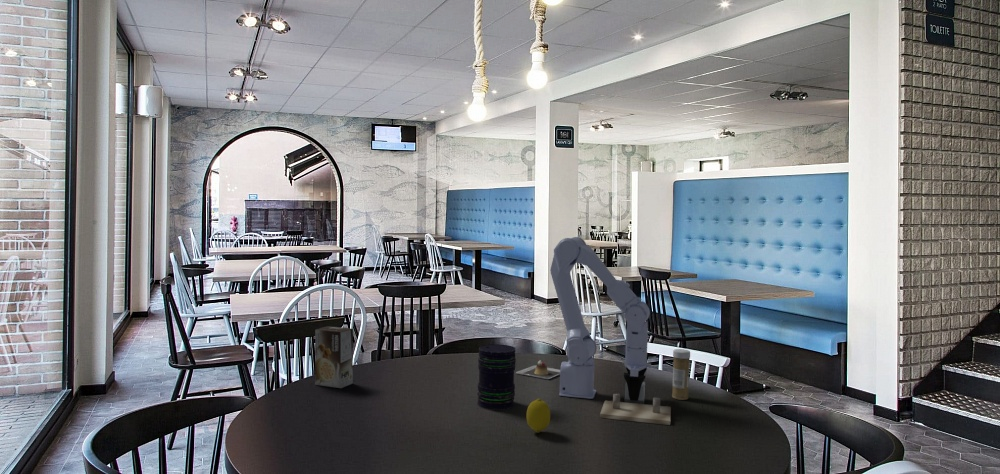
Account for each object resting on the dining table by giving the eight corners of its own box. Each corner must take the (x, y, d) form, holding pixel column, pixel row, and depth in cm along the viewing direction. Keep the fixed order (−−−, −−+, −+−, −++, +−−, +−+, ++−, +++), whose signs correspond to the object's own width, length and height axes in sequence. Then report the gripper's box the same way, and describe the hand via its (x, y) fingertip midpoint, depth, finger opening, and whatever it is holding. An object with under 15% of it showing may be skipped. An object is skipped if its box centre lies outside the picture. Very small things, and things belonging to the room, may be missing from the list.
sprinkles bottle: (692, 399, 182) (693, 351, 181) (680, 401, 179) (682, 352, 179) (679, 394, 186) (680, 347, 185) (668, 397, 183) (669, 349, 183)
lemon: (524, 428, 154) (525, 395, 153) (547, 428, 154) (548, 395, 154) (527, 437, 148) (528, 402, 148) (551, 437, 149) (552, 402, 148)
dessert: (567, 374, 208) (567, 359, 208) (549, 382, 198) (549, 366, 198) (534, 368, 215) (534, 354, 214) (515, 375, 204) (515, 360, 204)
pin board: (599, 417, 163) (600, 399, 163) (604, 404, 175) (605, 387, 175) (670, 425, 159) (670, 406, 159) (670, 410, 171) (671, 393, 170)
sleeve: (624, 403, 176) (625, 385, 176) (625, 398, 181) (626, 380, 181) (643, 405, 175) (644, 386, 175) (644, 400, 180) (644, 382, 179)
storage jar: (520, 402, 175) (522, 346, 174) (505, 412, 166) (506, 353, 165) (487, 397, 179) (488, 342, 178) (470, 406, 170) (471, 349, 169)
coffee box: (353, 383, 189) (354, 328, 188) (340, 389, 183) (341, 332, 182) (327, 379, 192) (328, 325, 192) (313, 384, 187) (314, 329, 186)
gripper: (650, 353, 169) (648, 405, 170) (652, 342, 183) (650, 390, 184) (622, 351, 171) (621, 402, 172) (626, 341, 185) (625, 388, 186)
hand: (634, 396), depth 178 cm, fingers open, 6 cm apart
